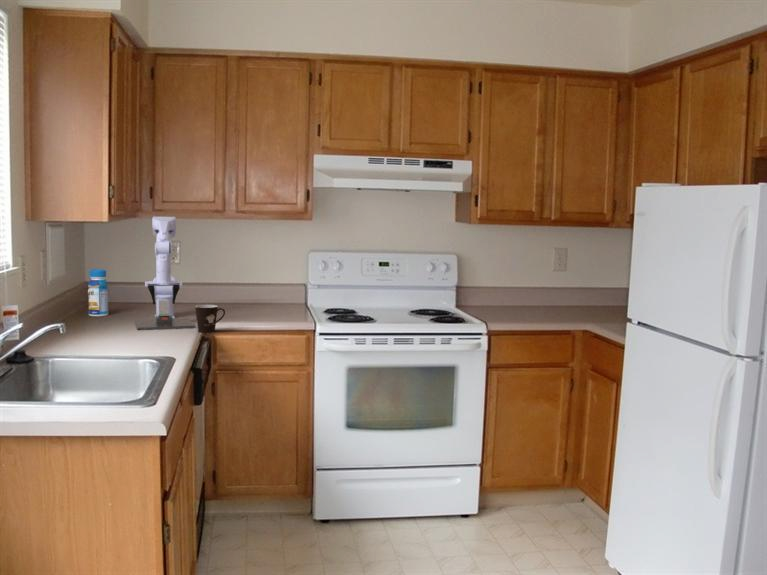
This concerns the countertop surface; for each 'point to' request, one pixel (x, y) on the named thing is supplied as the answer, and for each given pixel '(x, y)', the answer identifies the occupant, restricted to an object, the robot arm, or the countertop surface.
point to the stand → (163, 323)
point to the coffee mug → (207, 317)
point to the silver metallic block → (163, 307)
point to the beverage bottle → (98, 293)
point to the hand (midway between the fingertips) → (163, 303)
